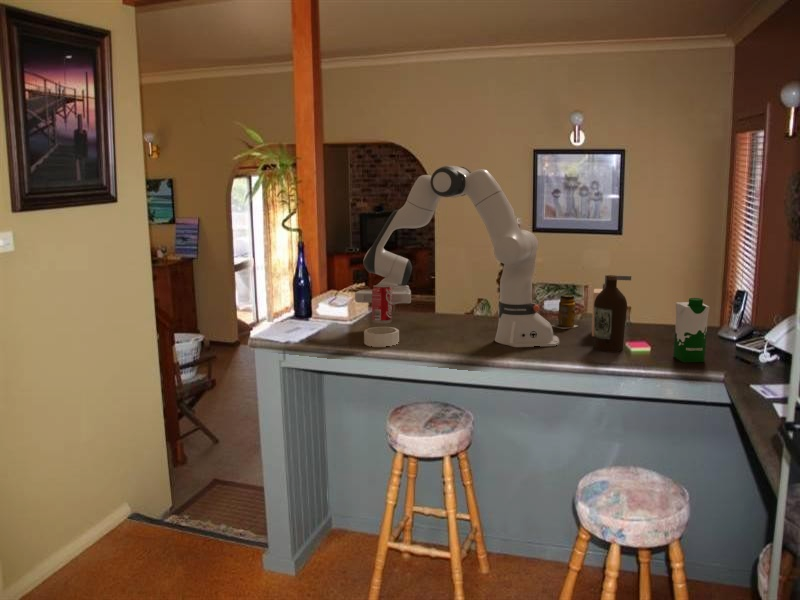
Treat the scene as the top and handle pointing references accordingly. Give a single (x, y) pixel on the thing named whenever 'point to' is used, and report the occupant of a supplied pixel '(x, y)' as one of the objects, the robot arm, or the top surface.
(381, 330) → the bowl
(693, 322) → the milk carton
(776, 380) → the top surface
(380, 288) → the soda can
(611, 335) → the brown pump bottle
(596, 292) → the soap dispenser
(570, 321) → the condiment
